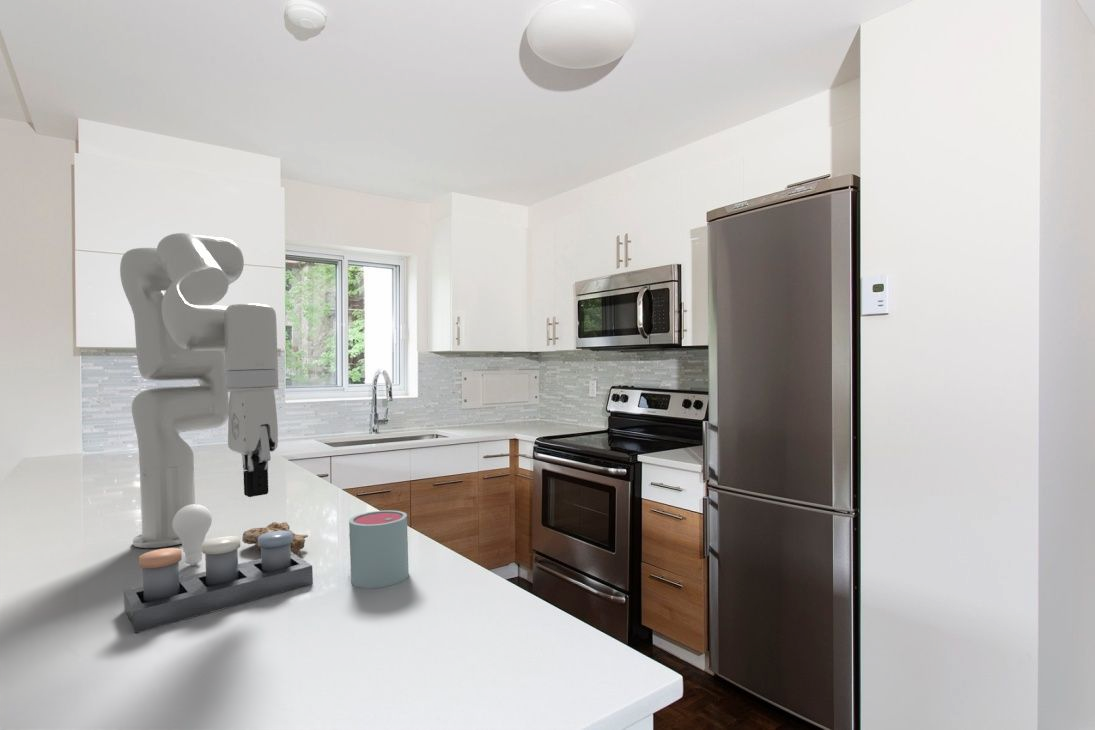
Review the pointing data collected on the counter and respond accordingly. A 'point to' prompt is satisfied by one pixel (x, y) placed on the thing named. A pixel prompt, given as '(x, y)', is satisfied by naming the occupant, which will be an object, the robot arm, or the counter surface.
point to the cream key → (221, 559)
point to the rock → (254, 533)
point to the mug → (378, 548)
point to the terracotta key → (160, 573)
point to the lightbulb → (192, 530)
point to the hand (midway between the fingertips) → (256, 494)
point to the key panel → (214, 593)
